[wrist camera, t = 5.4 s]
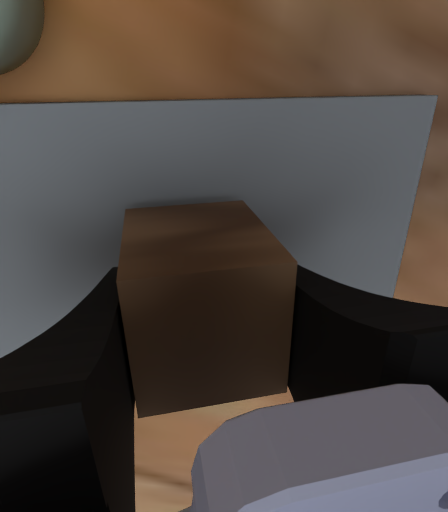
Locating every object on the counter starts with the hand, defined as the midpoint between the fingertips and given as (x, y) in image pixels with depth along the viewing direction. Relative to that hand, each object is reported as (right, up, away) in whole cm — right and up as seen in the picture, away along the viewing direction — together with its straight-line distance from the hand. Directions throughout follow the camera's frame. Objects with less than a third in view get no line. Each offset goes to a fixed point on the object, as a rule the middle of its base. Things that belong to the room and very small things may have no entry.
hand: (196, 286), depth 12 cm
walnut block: (0, +1, +1) cm, 2 cm away
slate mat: (0, +2, +4) cm, 4 cm away
